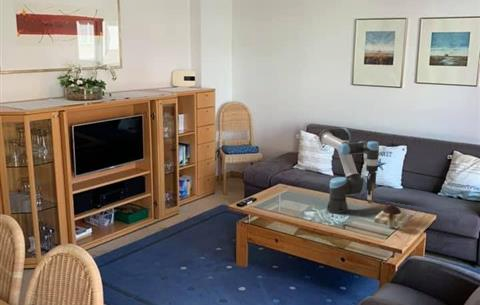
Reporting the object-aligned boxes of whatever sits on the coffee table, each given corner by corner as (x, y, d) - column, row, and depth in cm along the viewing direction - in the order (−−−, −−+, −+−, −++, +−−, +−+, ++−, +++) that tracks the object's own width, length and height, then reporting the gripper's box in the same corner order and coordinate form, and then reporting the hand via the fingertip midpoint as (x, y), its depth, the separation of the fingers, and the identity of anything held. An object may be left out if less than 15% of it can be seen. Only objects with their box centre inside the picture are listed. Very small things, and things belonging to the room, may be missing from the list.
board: (373, 222, 327) (374, 218, 327) (382, 214, 342) (382, 210, 341) (401, 227, 318) (401, 222, 317) (408, 219, 332) (409, 214, 332)
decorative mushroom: (380, 225, 321) (381, 203, 318) (396, 224, 322) (397, 202, 319) (386, 231, 311) (387, 208, 308) (403, 230, 312) (404, 207, 309)
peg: (366, 202, 333) (367, 182, 330) (368, 201, 337) (369, 181, 334) (372, 203, 331) (373, 183, 328) (374, 202, 334) (375, 182, 331)
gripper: (373, 168, 319) (371, 202, 324) (381, 162, 333) (380, 196, 338) (362, 166, 323) (360, 201, 328) (370, 161, 337) (369, 194, 342)
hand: (370, 198), depth 333 cm, fingers closed on peg, 4 cm apart
